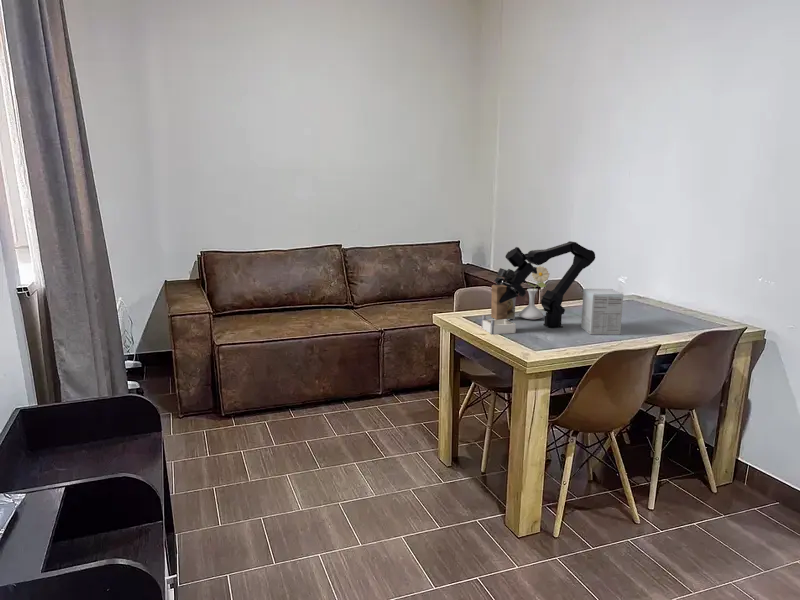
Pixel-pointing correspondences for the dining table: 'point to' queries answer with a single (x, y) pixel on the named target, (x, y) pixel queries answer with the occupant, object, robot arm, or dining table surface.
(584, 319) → the supplement box
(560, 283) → the robot arm
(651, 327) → the dining table surface
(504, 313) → the brown block
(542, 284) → the flower in vase
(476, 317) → the dining table surface
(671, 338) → the dining table surface
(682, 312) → the dining table surface
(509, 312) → the coffee box
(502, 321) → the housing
